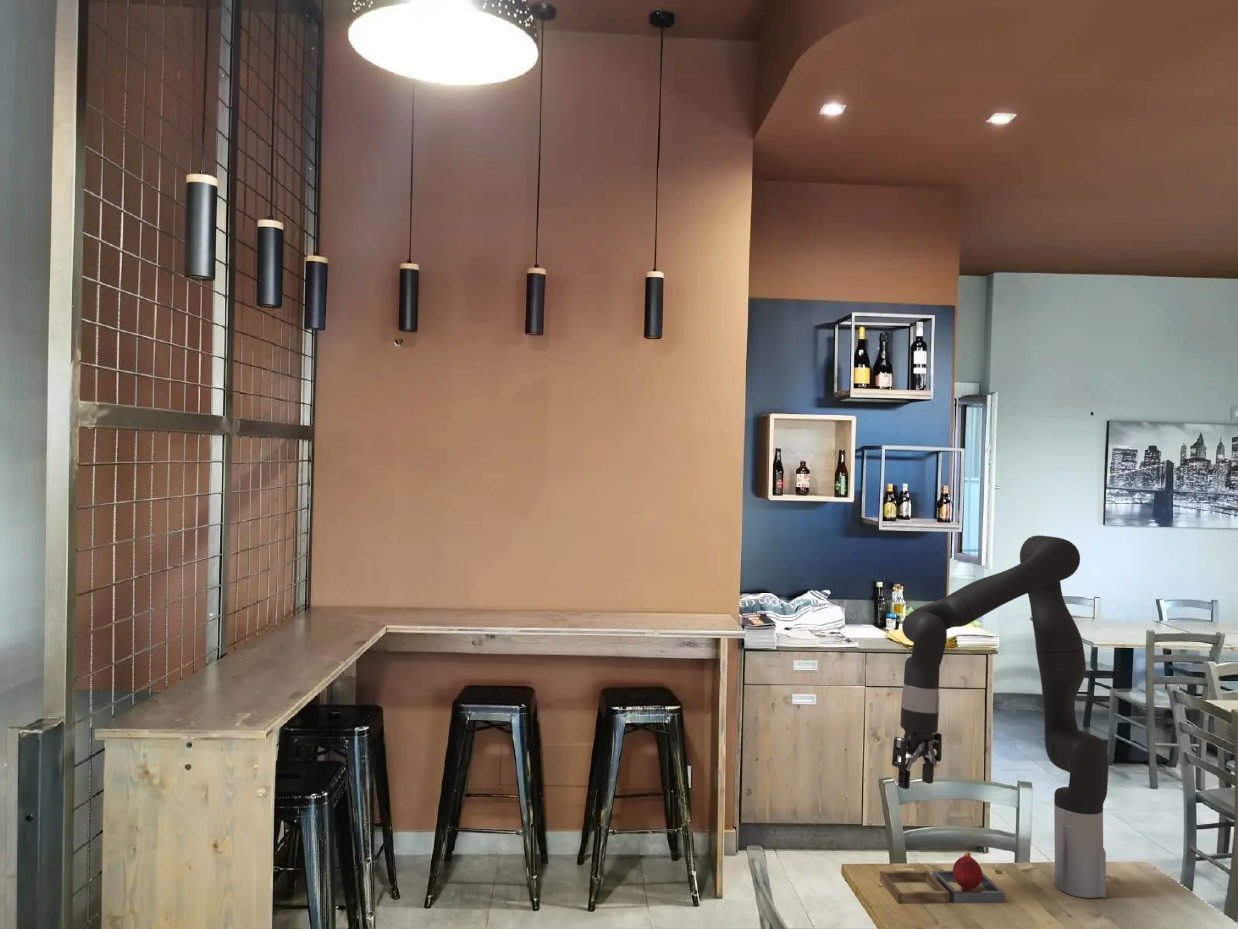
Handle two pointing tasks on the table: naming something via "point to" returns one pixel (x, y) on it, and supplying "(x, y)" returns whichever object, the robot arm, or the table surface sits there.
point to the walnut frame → (914, 896)
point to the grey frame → (988, 896)
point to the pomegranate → (967, 872)
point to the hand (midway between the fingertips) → (915, 785)
